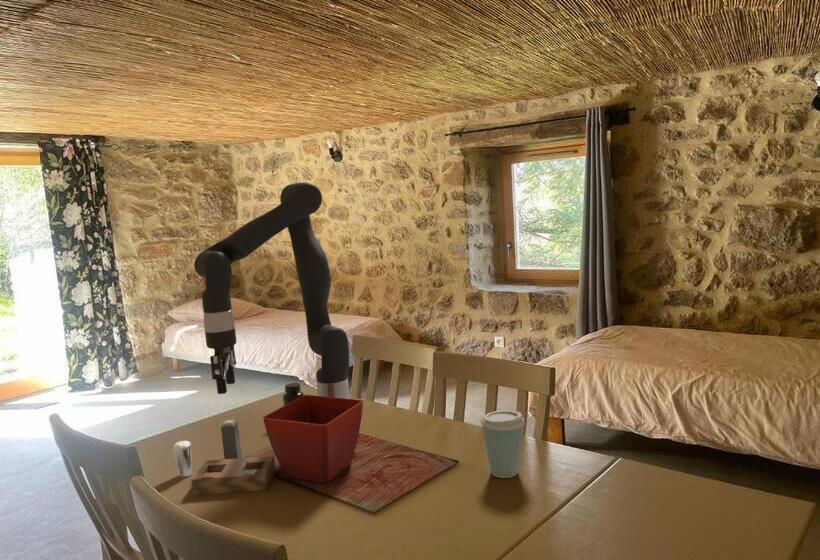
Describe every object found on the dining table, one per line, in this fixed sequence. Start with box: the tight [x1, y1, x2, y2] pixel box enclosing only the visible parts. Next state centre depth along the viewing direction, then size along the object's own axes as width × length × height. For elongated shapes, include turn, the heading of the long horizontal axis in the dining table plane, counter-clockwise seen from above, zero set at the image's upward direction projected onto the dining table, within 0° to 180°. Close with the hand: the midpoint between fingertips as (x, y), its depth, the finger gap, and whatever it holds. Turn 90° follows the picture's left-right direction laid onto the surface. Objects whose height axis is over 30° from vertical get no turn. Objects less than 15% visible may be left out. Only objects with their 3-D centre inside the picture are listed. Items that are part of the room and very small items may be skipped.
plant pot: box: [262, 394, 364, 484], centre depth 157 cm, size 19×19×17 cm
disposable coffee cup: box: [480, 409, 526, 479], centre depth 149 cm, size 11×11×15 cm
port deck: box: [191, 455, 277, 496], centre depth 155 cm, size 18×11×4 cm, turn 91°
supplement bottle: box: [282, 382, 305, 406], centre depth 196 cm, size 7×7×12 cm
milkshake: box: [172, 438, 193, 478], centre depth 161 cm, size 4×5×10 cm
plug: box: [220, 419, 243, 460], centre depth 167 cm, size 4×4×12 cm
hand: (226, 388), depth 159 cm, fingers open, 8 cm apart
